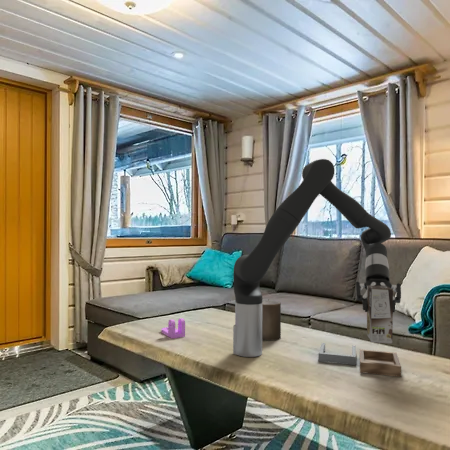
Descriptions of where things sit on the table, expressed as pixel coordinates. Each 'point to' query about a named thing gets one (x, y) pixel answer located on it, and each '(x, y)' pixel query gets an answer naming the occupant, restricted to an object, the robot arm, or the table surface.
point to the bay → (337, 356)
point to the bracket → (172, 331)
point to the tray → (380, 363)
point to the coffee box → (380, 313)
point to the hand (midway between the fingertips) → (378, 311)
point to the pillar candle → (271, 320)
